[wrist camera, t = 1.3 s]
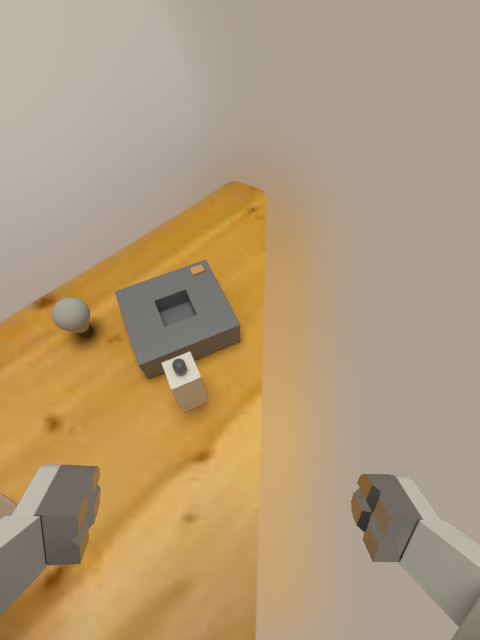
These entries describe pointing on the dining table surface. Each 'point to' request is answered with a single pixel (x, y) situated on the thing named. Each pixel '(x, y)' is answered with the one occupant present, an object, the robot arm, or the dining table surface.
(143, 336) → the socket housing
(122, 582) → the dining table surface
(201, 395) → the plug
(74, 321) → the light bulb
